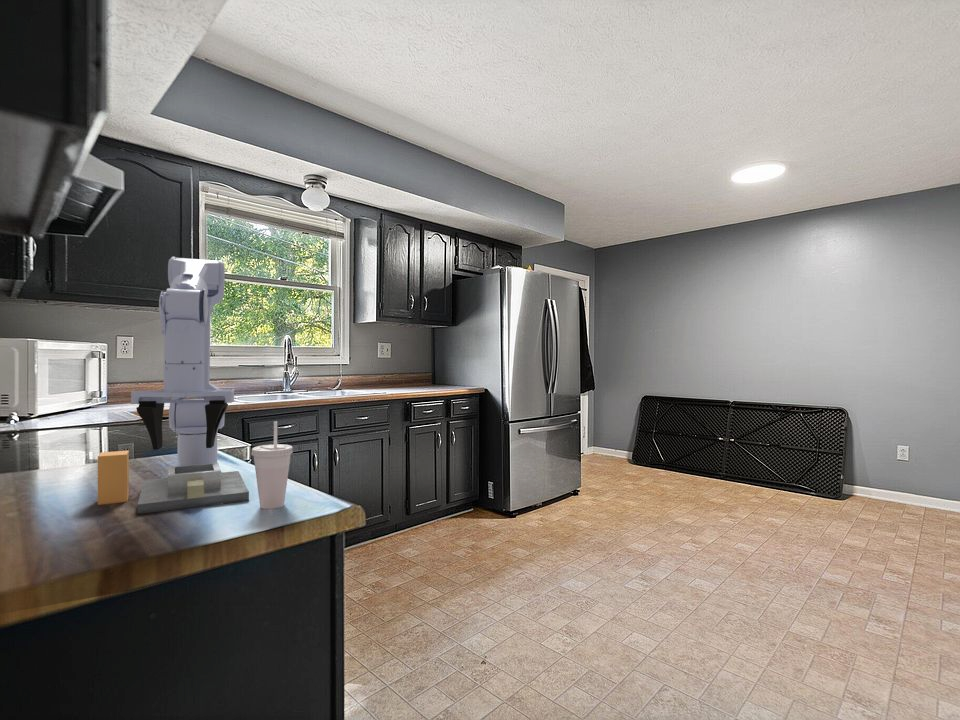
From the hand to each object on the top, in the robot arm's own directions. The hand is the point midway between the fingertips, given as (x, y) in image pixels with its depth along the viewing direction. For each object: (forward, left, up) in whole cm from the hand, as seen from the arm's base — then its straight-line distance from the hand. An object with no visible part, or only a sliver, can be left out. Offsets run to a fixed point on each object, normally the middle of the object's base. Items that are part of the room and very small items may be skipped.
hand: (184, 447), depth 85 cm
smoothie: (+5, +13, -10) cm, 17 cm away
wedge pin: (-11, -10, -10) cm, 18 cm away
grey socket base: (-9, +2, -10) cm, 13 cm away
